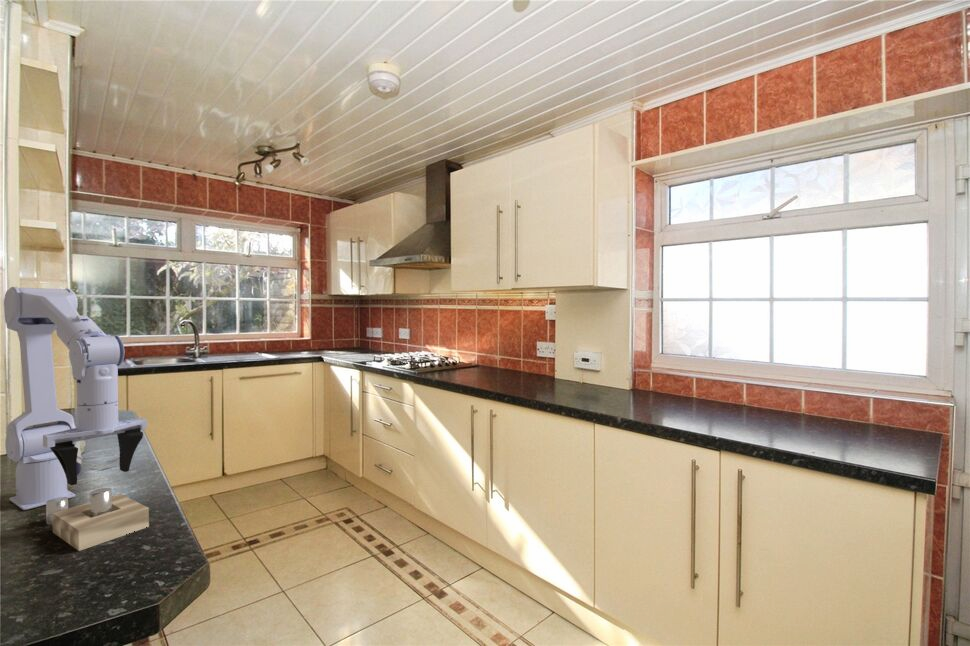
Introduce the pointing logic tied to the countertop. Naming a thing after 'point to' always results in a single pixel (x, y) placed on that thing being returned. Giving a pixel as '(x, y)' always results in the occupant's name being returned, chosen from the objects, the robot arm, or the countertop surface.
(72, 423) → the robot arm
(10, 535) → the countertop surface
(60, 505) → the short steel pin
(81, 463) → the white and blue bar
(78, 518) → the birch board
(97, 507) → the long steel pin
